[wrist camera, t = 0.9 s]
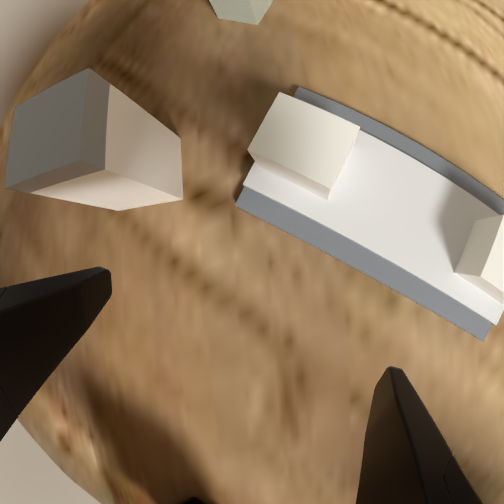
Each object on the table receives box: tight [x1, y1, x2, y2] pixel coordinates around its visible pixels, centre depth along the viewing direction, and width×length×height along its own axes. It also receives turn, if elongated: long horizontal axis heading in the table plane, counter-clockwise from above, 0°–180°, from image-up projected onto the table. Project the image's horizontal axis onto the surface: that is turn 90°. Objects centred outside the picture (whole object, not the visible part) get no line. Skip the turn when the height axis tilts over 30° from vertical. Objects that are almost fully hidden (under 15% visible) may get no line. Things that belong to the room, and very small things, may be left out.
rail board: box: [235, 87, 504, 342], centre depth 18 cm, size 10×21×6 cm, turn 62°
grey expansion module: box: [5, 68, 183, 211], centre depth 19 cm, size 5×6×12 cm
